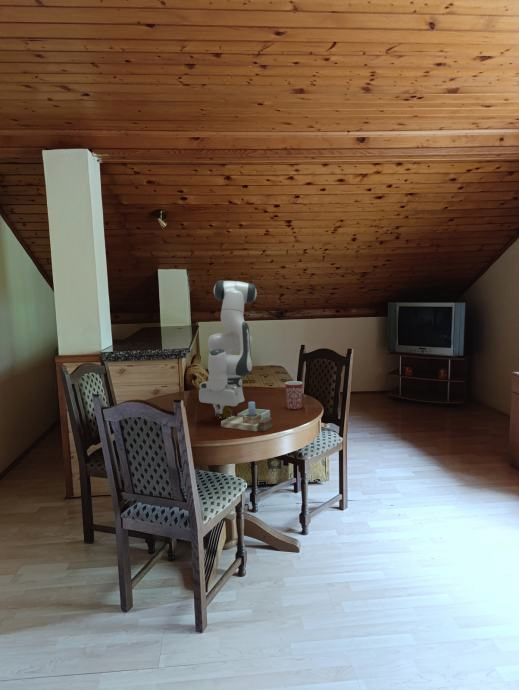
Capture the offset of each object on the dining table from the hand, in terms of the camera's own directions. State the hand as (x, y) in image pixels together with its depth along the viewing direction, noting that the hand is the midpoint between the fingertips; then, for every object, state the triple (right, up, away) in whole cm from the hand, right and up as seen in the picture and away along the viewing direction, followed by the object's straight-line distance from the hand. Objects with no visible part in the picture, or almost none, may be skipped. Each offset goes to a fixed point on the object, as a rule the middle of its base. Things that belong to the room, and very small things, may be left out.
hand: (219, 413), depth 216 cm
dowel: (+16, -3, -8) cm, 18 cm away
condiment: (+2, -3, +13) cm, 13 cm away
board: (+12, -5, -6) cm, 14 cm away
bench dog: (+22, -5, -11) cm, 25 cm away
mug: (+37, -1, +26) cm, 46 cm away
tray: (+16, -4, +5) cm, 18 cm away
